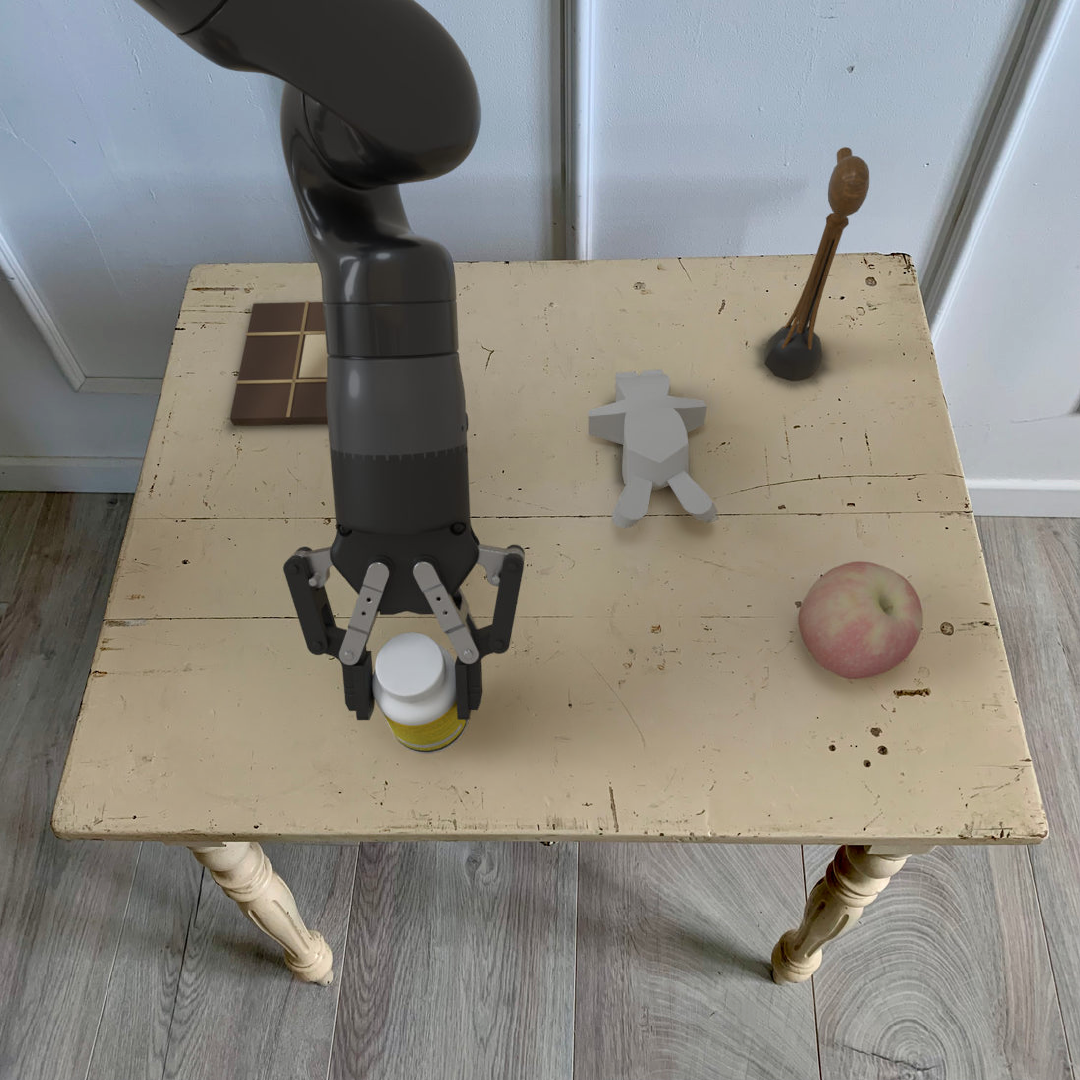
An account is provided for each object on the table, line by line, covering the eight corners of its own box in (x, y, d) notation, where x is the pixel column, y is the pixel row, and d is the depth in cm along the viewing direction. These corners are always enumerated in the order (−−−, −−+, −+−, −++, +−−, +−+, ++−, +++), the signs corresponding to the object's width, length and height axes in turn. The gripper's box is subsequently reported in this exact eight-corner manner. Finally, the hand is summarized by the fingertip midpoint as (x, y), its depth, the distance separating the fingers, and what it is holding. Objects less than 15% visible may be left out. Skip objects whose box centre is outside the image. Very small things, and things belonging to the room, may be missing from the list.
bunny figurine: (697, 351, 72) (734, 494, 64) (691, 396, 77) (725, 536, 68) (582, 361, 72) (603, 505, 64) (582, 405, 76) (602, 546, 68)
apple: (871, 715, 61) (909, 675, 54) (770, 660, 64) (795, 615, 57) (913, 626, 65) (955, 577, 58) (816, 576, 67) (845, 523, 60)
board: (233, 425, 75) (228, 417, 74) (256, 310, 81) (252, 301, 80) (420, 422, 75) (418, 413, 74) (429, 306, 81) (427, 297, 80)
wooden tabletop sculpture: (763, 327, 79) (819, 126, 61) (816, 330, 78) (888, 129, 61) (764, 379, 76) (823, 184, 58) (819, 382, 76) (895, 188, 58)
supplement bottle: (484, 730, 59) (471, 680, 51) (411, 770, 58) (385, 726, 50) (448, 664, 62) (429, 605, 53) (377, 701, 60) (346, 648, 52)
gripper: (246, 451, 45) (279, 746, 50) (527, 447, 45) (533, 744, 50) (288, 428, 53) (313, 688, 57) (530, 424, 52) (535, 686, 57)
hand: (416, 713), depth 54 cm, fingers closed on supplement bottle, 5 cm apart
